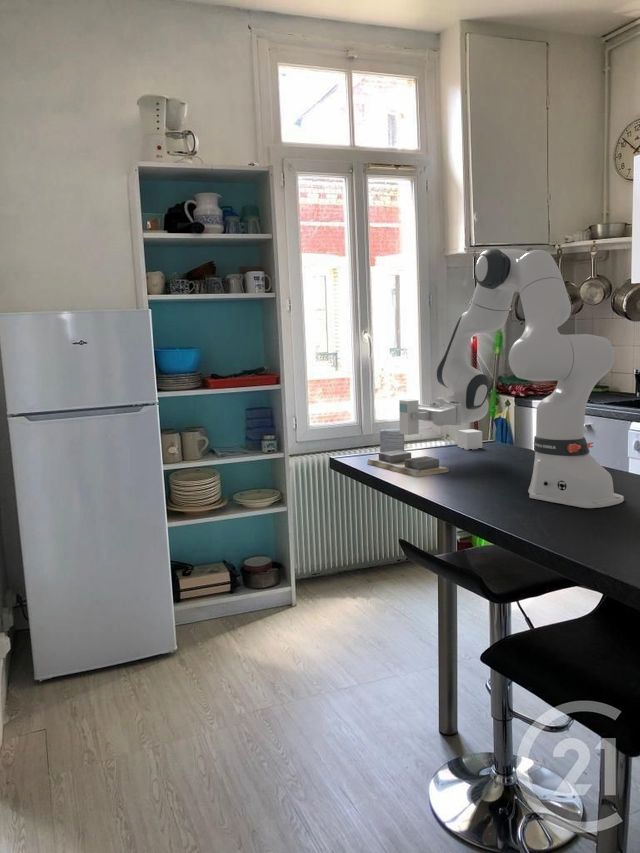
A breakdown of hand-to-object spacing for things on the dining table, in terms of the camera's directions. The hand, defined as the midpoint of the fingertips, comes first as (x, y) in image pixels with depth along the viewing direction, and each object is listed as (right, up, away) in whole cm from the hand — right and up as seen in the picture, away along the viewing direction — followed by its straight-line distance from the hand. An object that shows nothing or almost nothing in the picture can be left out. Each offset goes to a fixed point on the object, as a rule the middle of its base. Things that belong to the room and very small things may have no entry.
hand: (406, 415), depth 207 cm
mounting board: (0, -16, +2) cm, 16 cm away
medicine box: (-2, -13, +21) cm, 25 cm away
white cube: (+26, -11, +33) cm, 43 cm away
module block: (+1, -5, +1) cm, 6 cm away
